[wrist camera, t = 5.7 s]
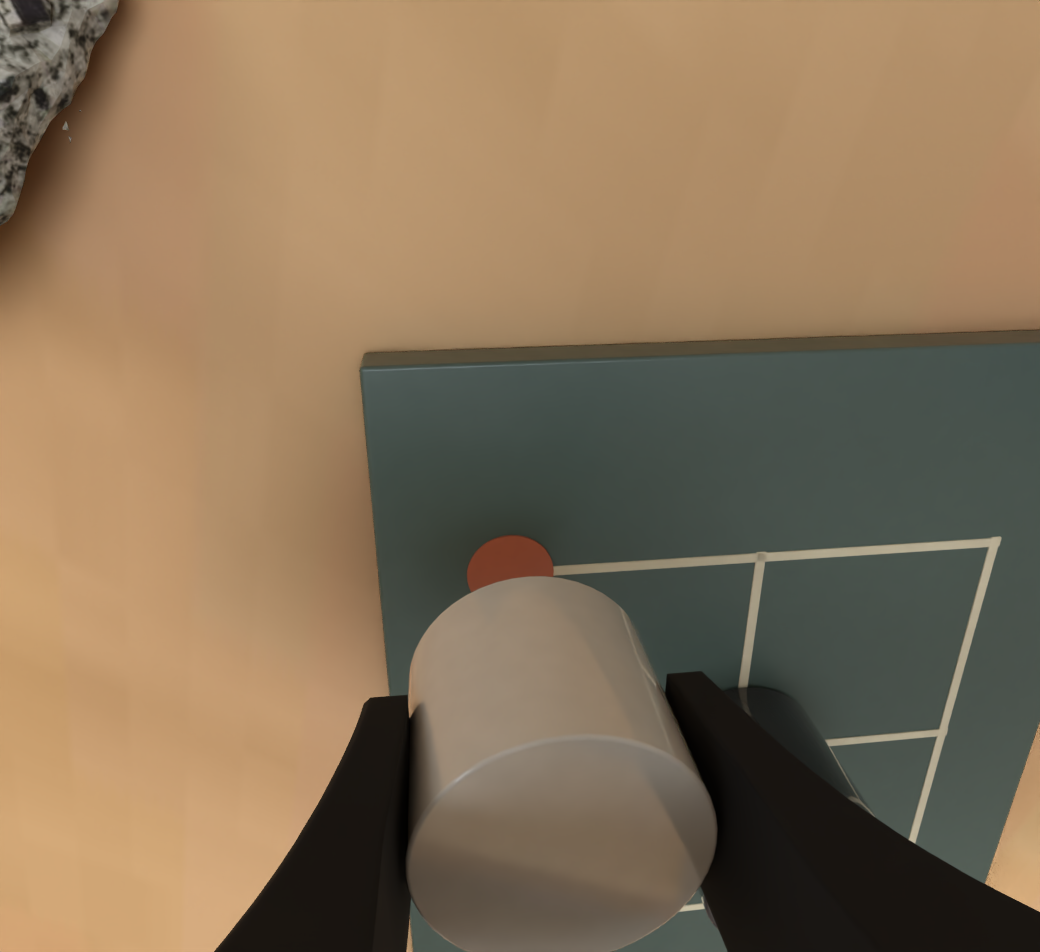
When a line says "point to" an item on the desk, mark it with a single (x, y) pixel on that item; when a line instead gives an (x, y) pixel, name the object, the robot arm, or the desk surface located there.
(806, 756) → the dark grey cylinder
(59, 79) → the rock sample
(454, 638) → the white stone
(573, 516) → the game board
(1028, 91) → the desk surface
